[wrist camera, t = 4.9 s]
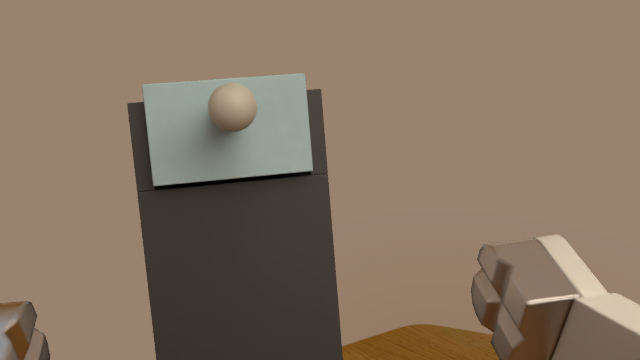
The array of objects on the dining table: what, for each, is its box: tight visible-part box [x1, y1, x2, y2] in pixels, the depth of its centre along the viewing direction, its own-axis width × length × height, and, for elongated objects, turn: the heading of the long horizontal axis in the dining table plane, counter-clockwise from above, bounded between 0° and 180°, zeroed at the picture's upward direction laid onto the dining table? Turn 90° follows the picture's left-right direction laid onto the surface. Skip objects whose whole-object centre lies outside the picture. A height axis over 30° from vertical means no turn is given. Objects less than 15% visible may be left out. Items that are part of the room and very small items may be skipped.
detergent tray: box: [142, 73, 313, 186], centre depth 33 cm, size 9×20×6 cm, turn 10°
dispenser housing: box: [128, 89, 343, 360], centre depth 40 cm, size 11×11×26 cm
